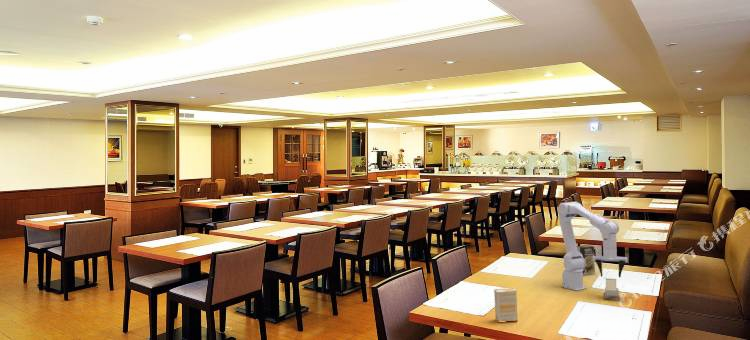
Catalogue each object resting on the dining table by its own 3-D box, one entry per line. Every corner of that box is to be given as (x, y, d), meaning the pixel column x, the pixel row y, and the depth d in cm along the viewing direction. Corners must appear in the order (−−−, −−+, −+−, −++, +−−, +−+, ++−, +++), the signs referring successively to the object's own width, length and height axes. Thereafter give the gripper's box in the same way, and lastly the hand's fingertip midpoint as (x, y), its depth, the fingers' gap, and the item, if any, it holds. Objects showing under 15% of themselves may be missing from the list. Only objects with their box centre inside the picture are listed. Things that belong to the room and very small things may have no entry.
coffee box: (582, 276, 275) (581, 247, 275) (574, 273, 281) (573, 245, 281) (595, 274, 277) (594, 246, 277) (587, 272, 284) (587, 244, 283)
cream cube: (605, 289, 229) (605, 280, 229) (606, 287, 233) (605, 278, 233) (616, 290, 227) (616, 281, 227) (616, 288, 231) (616, 279, 231)
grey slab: (605, 295, 228) (605, 290, 228) (605, 292, 234) (605, 287, 234) (618, 296, 226) (618, 291, 226) (618, 293, 231) (617, 288, 231)
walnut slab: (604, 301, 228) (604, 295, 228) (603, 297, 234) (603, 292, 234) (619, 302, 226) (619, 296, 226) (618, 298, 232) (618, 293, 232)
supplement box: (514, 318, 207) (513, 287, 207) (517, 322, 202) (516, 290, 202) (494, 319, 207) (493, 288, 207) (498, 323, 202) (497, 291, 202)
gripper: (593, 248, 229) (593, 277, 230) (627, 249, 224) (628, 279, 224) (592, 246, 236) (593, 274, 236) (626, 247, 230) (627, 275, 231)
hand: (610, 276), depth 231 cm, fingers open, 7 cm apart
